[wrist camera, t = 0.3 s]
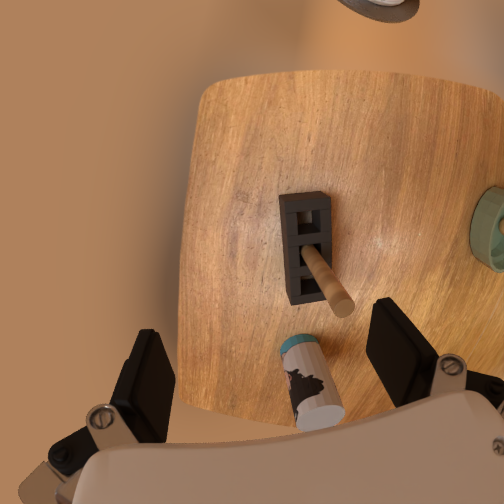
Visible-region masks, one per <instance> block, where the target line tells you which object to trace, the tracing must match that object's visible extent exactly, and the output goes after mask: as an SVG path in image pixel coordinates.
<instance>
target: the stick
mask: <svg viewBox="0 0 504 504" xmlns="http://www.w3.org/2000/svg"><path fill="white" fill-rule="evenodd" d="M299 252H300V254H301V255H302V257H303V259H304V261H305V262H306V264H307V266H308V268H309V269H310V271H311V273H312V275H313V276H314V278H315V280H316V282H317V283H318V285H319V287H320V289H321V290H322V292H323V294H324V296H325V298H326V299H327V301H328V303H329V305H330V307H331V309H332V310H333V312H334V314H335V315H336V316H337V317H339V318H345V317H347V316H349V315H350V314H351V313H352V312H353V311H354V308H355V303H354V301H353V300H352V298H351V297H350V296H349V294H348V293H347V291H346V290H345V288H344V287H343V286H342V284H341V283H340V281H339V280H338V278H337V277H336V276H335V274H334V273H333V271H332V270H331V269H330V267H329V266H328V265H327V263H326V262H325V260H324V259H323V258H322V256H321V255H320V254H319V252H318V251H317V249H316V248H315V247H314V245H313V244H309V245H301V246H299Z"/></svg>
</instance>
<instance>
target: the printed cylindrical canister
mask: <svg viewBox="0 0 504 504" xmlns="http://www.w3.org/2000/svg"><path fill="white" fill-rule="evenodd" d="M280 354H281V359H282V363H283V368H284V372H285V377H286V381H287V385H288V390H289V394H290V399H291V403H292V408H293V412H294V417H295V422H296V426H297V428H298V429H299V430H301V431H304V432H309V431H314V430H319V429H323V428H328V427H332V426H334V425H336V424H337V423H338V422H340V421H341V420H342V418H343V417H344V416H345V410H344V407H343V404H342V402H341V399H340V396H339V394H338V391H337V388H336V386H335V383H334V381H333V378H332V376H331V373H330V370H329V368H328V365H327V363H326V360H325V358H324V355H323V353H322V350H321V348H320V345H319V343H318V341H317V339H316V338H315V337H314V336H312V335H309V334H299V335H295V336H293V337H290V338H289V339H288V340H286V341H285V342H284V343H283V345H282V346H281V349H280Z"/></svg>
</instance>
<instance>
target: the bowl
mask: <svg viewBox="0 0 504 504" xmlns="http://www.w3.org/2000/svg"><path fill="white" fill-rule="evenodd" d="M503 218H504V188H503V187H495V186H494V187H492V188H490V189H489V190H487V191H486V193H485V194H484V195H483V196H482V197H481V199H480V201H479V203H478V205H477V207H476V209H475V212H474V216H473V219H472V223H471V231H470V246H471V249H472V252H473V255H474V256H475V258H476V259H477V260H478V261H480V262H481V263H482V264H484V265H485V266H487V267H488V268H490V269H491V270H493V271H494V272H497V273H502V272H504V235H502V234H501V232H500V230H499V223H500V221H501V220H502V219H503Z"/></svg>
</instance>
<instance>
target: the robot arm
mask: <svg viewBox="0 0 504 504" xmlns="http://www.w3.org/2000/svg"><path fill="white" fill-rule="evenodd" d="M368 1H371V2H373V3H376V4H379V5H384V6H395V5H399V4H400V3H402V2H404V1H405V0H368ZM366 354H367V356H368V358H369V360H370V362H371V363H372V365H373V367H374V369H375V371H376V372H377V374H378V376H379V378H380V380H381V381H382V383H383V385H384V387H385V389H386V391H387V393H388V394H389V396H390V398H391V400H392V402H393V404H394V406H395V407H396V408H395V409H392V410H389V411H386V412H383V413H380V414H376V415H373V416H370V417H366V418H363V419H359V420H356V421H352V422H348V423H344V424H340V425H336V426H332V427H328V428H323V429H319V430H314V431H309V432H303V433H298V434H292V435H286V436H279V437H273V438H265V439H256V440H246V441H234V442H219V443H176V444H175V443H165V442H166V439H167V432H168V425H169V418H170V412H171V406H172V399H173V393H174V387H175V374H174V372H173V370H172V367H171V364H170V362H169V359H168V357H167V354H166V351H165V349H164V346H163V343H162V340H161V338H160V335H159V333H158V332H155V331H154V329H142V330H140V331H139V334H138V336H137V338H136V341H135V344H134V346H133V349H132V352H131V354H130V356H129V359H127V360H126V361H125V363H124V365H123V367H122V370H121V373H120V376H119V378H118V381H117V383H116V386H115V389H114V392H113V395H112V397H111V400H110V403H109V404H100V405H97V406H95V407H93V408H92V409H91V410H90V411H89V412H88V414H87V416H86V424H87V426H85V427H83V428H81V429H80V430H78V431H76V432H74V433H73V434H71V435H69V436H67V437H66V438H64V439H62V440H60V441H58V442H57V443H55V444H54V445H53V446H52V447H51V448H50V450H49V453H48V459H49V460H48V461H47V462H45V461H43V462H42V463H41V464H40V465H39V466H38V467H37V468H36V469H35V470H34V471H33V472H32V473H31V474H30V475H29V476H28V477H27V478H26V479H25V480H24V481H23V482H22V483H21V484H20V486H19V489H18V494H19V497H20V499H21V501H22V502H23V503H24V504H504V381H503V380H502V379H500V378H498V377H494V376H490V375H486V374H482V373H478V372H473V371H469V370H467V365H466V363H465V361H464V360H463V359H462V358H461V357H460V356H458V355H455V354H444V355H442V356H440V357H439V356H438V354H437V352H436V351H435V350H434V348H433V347H432V346H431V345H430V343H429V342H428V341H427V340H426V339H425V337H424V336H423V335H422V334H421V333H420V331H419V330H418V329H417V328H416V327H415V325H414V324H413V323H412V322H411V321H410V319H409V318H408V317H407V316H406V315H405V314H404V313H403V311H402V310H401V309H400V308H399V307H398V306H397V305H396V303H395V302H394V301H393V300H392V299H391V298H390V297H386V298H382V299H378V300H377V301H376V303H374V304H373V309H372V316H371V322H370V328H369V334H368V340H367V345H366Z"/></svg>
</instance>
